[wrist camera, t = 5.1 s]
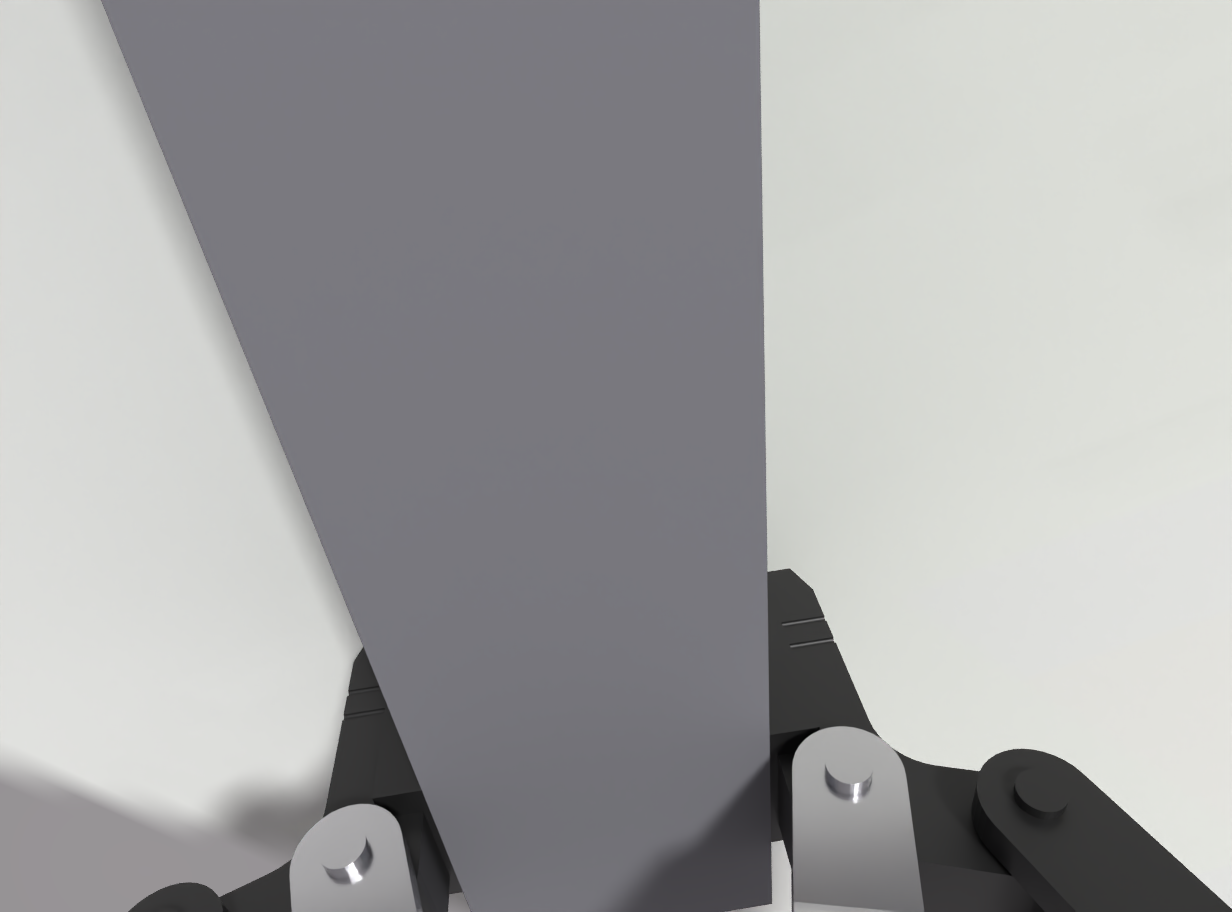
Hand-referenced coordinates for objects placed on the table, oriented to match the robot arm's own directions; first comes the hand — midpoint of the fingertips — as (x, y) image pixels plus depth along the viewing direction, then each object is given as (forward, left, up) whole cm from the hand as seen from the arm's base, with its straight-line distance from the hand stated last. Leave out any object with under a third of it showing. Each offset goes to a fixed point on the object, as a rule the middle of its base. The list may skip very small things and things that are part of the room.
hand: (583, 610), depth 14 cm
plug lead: (0, -7, 0) cm, 7 cm away
